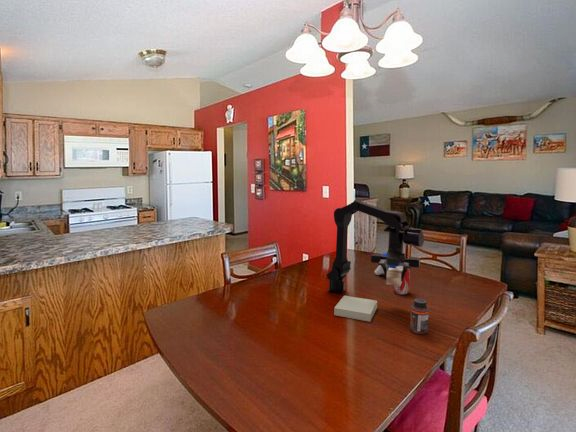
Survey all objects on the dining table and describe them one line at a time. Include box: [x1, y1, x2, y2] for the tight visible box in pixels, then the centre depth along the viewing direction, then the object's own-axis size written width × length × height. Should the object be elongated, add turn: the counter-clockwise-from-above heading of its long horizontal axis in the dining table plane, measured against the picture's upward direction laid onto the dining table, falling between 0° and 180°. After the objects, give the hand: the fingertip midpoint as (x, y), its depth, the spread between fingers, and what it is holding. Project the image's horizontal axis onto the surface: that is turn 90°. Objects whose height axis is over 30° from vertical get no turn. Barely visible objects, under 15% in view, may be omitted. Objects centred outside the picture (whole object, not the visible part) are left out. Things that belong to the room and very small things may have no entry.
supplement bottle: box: [409, 298, 430, 335], centre depth 117 cm, size 6×6×11 cm
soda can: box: [392, 265, 411, 295], centre depth 153 cm, size 7×7×12 cm
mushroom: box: [373, 252, 403, 276], centre depth 177 cm, size 14×14×15 cm
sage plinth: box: [333, 295, 378, 323], centre depth 134 cm, size 14×14×3 cm
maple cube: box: [385, 268, 403, 286], centre depth 136 cm, size 6×6×6 cm
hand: (394, 280), depth 137 cm, fingers closed on maple cube, 5 cm apart
